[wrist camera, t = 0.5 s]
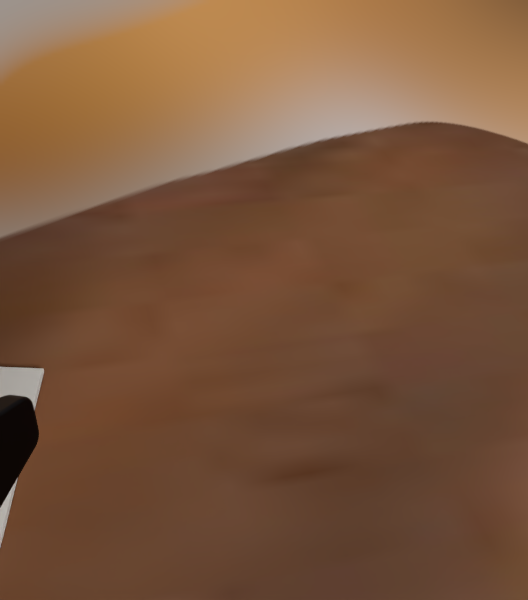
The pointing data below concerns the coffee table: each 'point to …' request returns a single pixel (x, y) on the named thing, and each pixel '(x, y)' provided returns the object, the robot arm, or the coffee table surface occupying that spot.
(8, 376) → the mat
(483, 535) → the coffee table surface
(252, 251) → the coffee table surface
